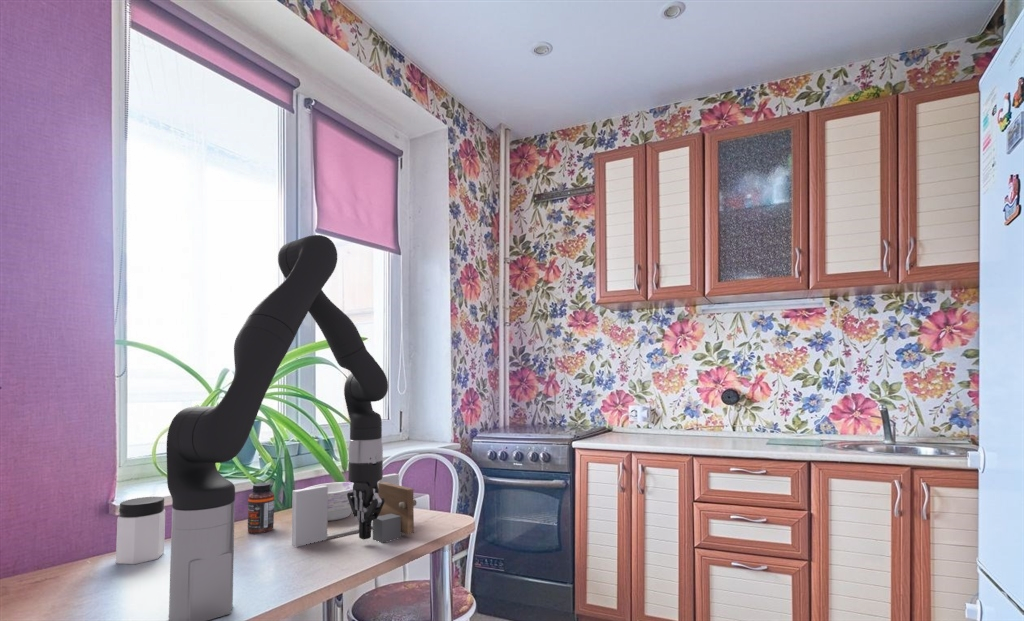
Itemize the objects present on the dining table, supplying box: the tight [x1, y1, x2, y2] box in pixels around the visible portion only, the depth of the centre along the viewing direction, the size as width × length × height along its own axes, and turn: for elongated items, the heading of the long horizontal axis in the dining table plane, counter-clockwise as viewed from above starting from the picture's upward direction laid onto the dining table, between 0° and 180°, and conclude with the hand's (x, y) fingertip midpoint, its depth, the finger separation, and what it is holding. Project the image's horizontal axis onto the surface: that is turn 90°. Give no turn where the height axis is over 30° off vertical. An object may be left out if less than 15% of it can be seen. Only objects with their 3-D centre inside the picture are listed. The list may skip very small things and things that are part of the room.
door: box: [378, 482, 418, 535], centre depth 140 cm, size 4×14×10 cm, turn 44°
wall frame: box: [291, 473, 400, 548], centre depth 140 cm, size 2×27×12 cm, turn 134°
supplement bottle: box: [247, 482, 275, 534], centre depth 144 cm, size 6×6×11 cm
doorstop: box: [372, 513, 402, 544], centre depth 135 cm, size 4×5×5 cm
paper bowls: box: [306, 481, 354, 522], centre depth 156 cm, size 15×15×8 cm
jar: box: [115, 496, 166, 565], centre depth 125 cm, size 9×8×12 cm
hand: (365, 538), depth 130 cm, fingers closed
